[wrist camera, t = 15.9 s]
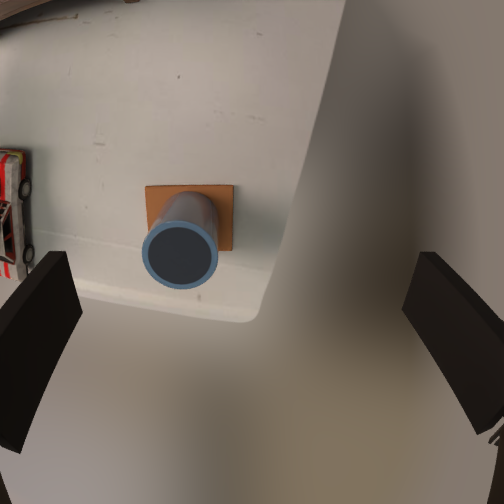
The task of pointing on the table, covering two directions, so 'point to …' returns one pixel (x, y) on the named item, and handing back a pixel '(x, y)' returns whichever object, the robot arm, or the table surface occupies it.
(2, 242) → the toy car
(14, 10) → the shelf
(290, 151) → the table surface
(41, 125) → the table surface
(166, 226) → the cup
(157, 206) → the coaster
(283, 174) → the table surface
